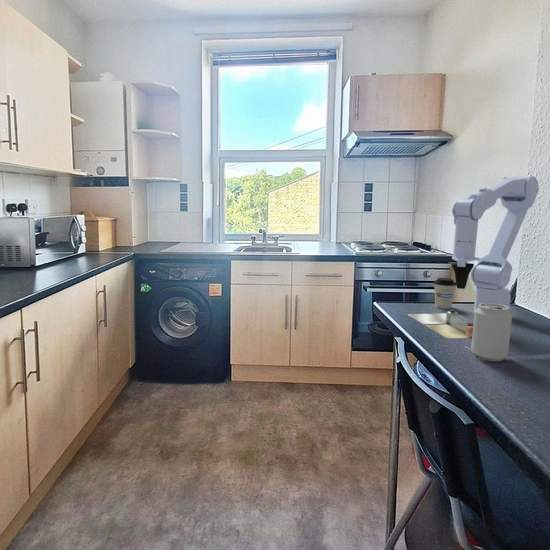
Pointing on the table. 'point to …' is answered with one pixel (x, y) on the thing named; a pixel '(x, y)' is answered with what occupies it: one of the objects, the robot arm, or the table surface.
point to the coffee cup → (444, 292)
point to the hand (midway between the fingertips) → (460, 288)
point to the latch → (458, 321)
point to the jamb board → (442, 325)
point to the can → (491, 331)
